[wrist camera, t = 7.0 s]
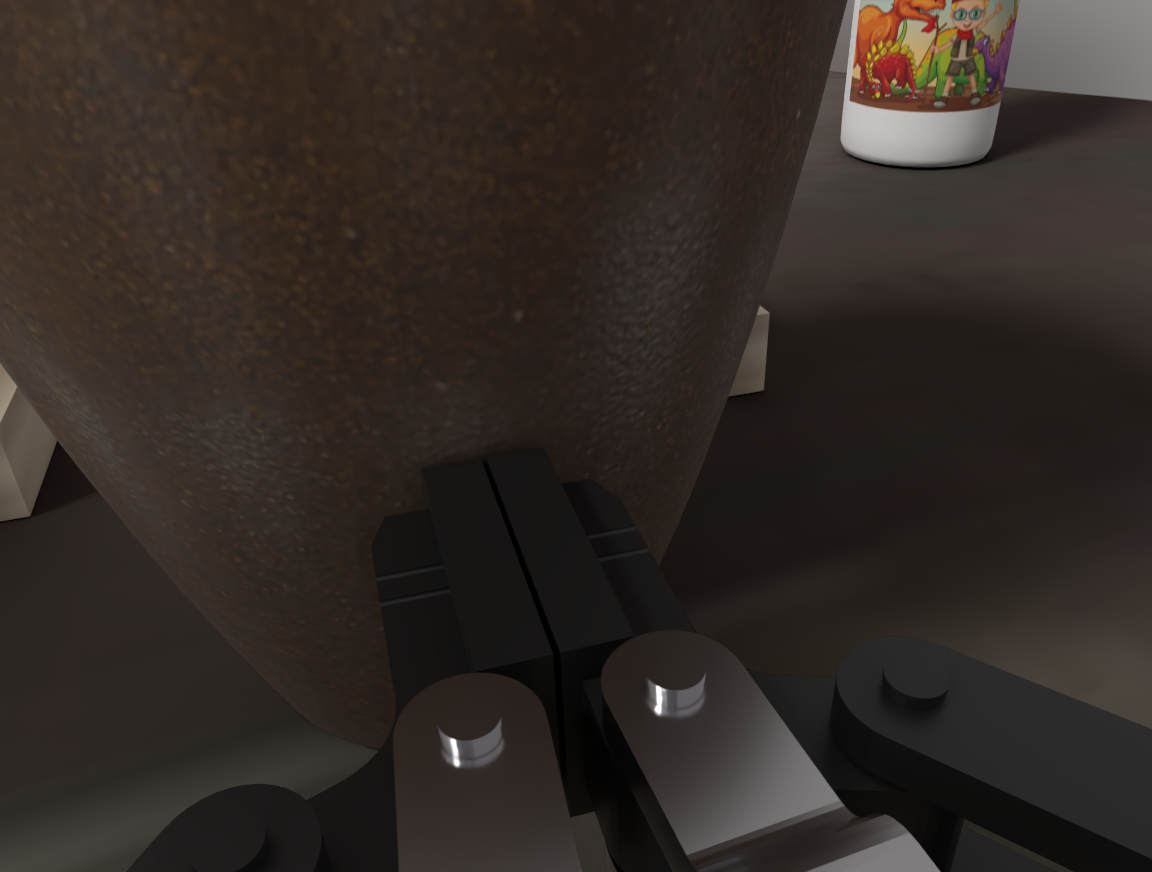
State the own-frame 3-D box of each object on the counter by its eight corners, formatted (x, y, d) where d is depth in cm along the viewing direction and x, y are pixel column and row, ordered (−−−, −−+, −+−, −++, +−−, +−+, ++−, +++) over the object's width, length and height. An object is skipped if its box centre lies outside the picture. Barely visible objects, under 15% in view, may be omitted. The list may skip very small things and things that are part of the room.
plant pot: (954, 905, 14) (1331, -636, 6) (-102, 1044, 13) (-1279, -614, 5) (716, 423, 27) (739, -276, 19) (176, 472, 26) (-35, -249, 18)
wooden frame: (-23, 525, 24) (-119, 301, 21) (99, 243, 42) (57, 103, 39) (763, 390, 29) (778, 192, 26) (565, 190, 47) (560, 61, 44)
